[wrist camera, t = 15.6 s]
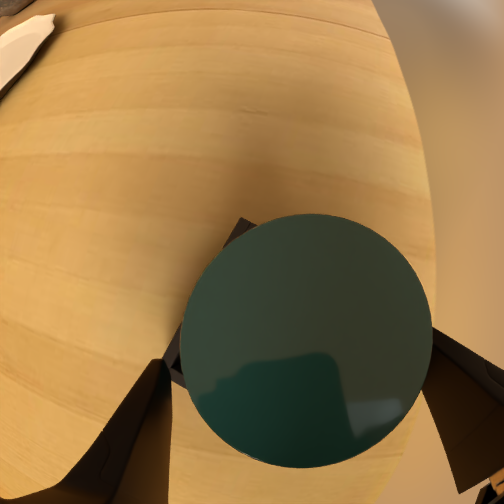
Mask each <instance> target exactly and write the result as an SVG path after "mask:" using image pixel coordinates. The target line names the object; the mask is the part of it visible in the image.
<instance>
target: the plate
mask: <svg viewBox="0 0 504 504" xmlns="http://www.w3.org/2000/svg"><path fill="white" fill-rule="evenodd" d="M55 16H56V14H49V15H45V16H42V15H37V16H34V17H32V18H30V19H28V20H27V21H25V22H23V23H21V24H19V25H17V26H15V27H13V28H11V29H10V30H8V31H7V32H5V33H4V34H3V35H2V36H0V99H1V98H2V97H3V96H4V95H5V94H6V93H7V91H8V90H9V89H10V88H11V87H12V85H13V84H14V83H15V82H16V81H17V80H18V78H19V77H20V76H21V75H22V74H23V72H24V71H25V70H26V68H27V67H28V66H29V64H30V63H31V62H32V61H33V59H34V57H35V56H36V54H37V53H38V51H39V50H40V48H41V47H42V45H43V44H44V43H45V41H46V40H47V39H48V37H49V36H50V35H51V33H52V32H53V30H54V29H55V27H54V24H53V21H54V19H55Z"/></svg>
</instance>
